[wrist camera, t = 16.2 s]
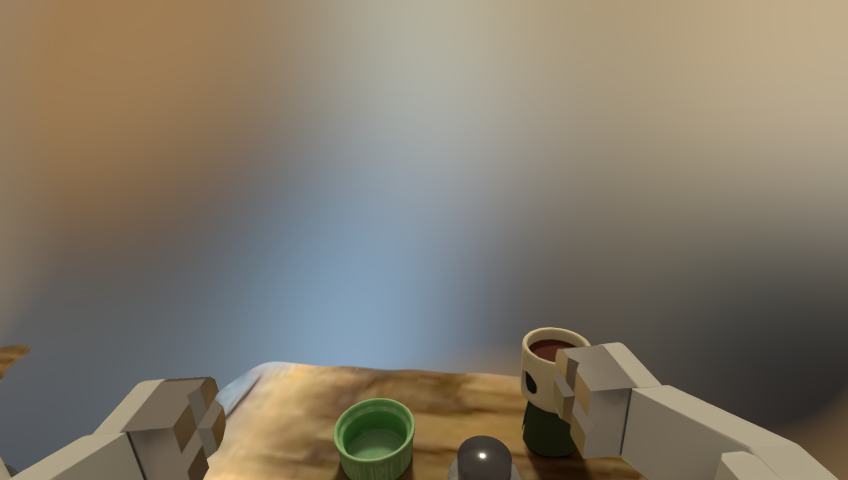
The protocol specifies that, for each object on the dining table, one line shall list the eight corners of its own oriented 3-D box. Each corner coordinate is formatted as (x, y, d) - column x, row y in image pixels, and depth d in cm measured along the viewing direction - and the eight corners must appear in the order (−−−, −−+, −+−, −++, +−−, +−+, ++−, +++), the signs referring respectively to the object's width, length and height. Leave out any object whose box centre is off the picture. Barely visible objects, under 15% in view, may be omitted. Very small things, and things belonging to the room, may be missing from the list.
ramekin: (392, 506, 40) (388, 474, 39) (320, 474, 44) (315, 444, 42) (429, 439, 48) (428, 410, 46) (366, 417, 52) (362, 389, 50)
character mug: (514, 404, 52) (518, 317, 48) (571, 407, 51) (580, 318, 47) (522, 478, 42) (528, 377, 38) (593, 485, 41) (607, 381, 37)
